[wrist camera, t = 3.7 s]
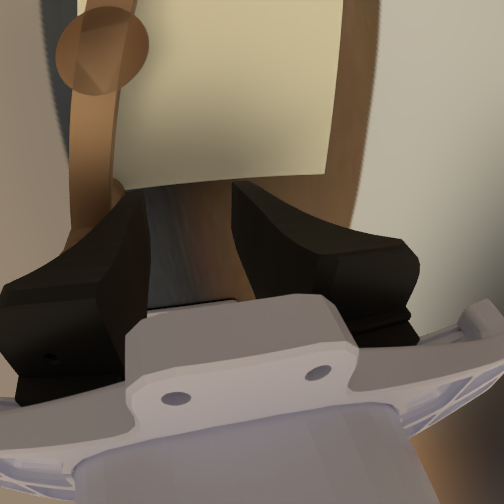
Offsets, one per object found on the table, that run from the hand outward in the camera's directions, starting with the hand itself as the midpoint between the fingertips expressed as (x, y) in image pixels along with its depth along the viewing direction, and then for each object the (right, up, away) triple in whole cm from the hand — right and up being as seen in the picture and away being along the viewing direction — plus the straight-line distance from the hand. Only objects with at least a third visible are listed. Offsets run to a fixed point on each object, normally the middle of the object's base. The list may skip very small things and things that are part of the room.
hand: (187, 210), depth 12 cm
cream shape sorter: (0, +14, 0) cm, 14 cm away
